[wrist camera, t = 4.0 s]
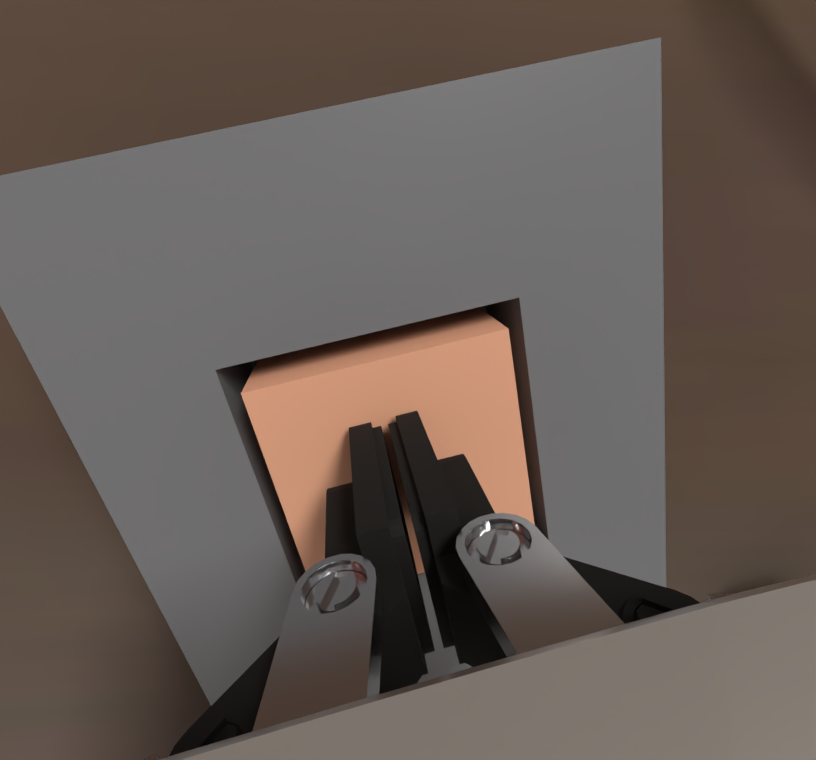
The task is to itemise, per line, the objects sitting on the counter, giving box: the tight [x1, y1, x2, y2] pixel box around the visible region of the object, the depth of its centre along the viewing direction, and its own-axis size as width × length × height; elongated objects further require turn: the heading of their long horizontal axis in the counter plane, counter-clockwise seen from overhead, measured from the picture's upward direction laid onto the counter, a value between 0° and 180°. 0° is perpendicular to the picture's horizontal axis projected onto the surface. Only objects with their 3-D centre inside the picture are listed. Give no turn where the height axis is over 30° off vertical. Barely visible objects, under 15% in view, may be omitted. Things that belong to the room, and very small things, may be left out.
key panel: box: [0, 37, 666, 706], centre depth 16 cm, size 14×28×4 cm, turn 12°
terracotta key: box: [241, 307, 535, 574], centre depth 13 cm, size 6×6×3 cm
